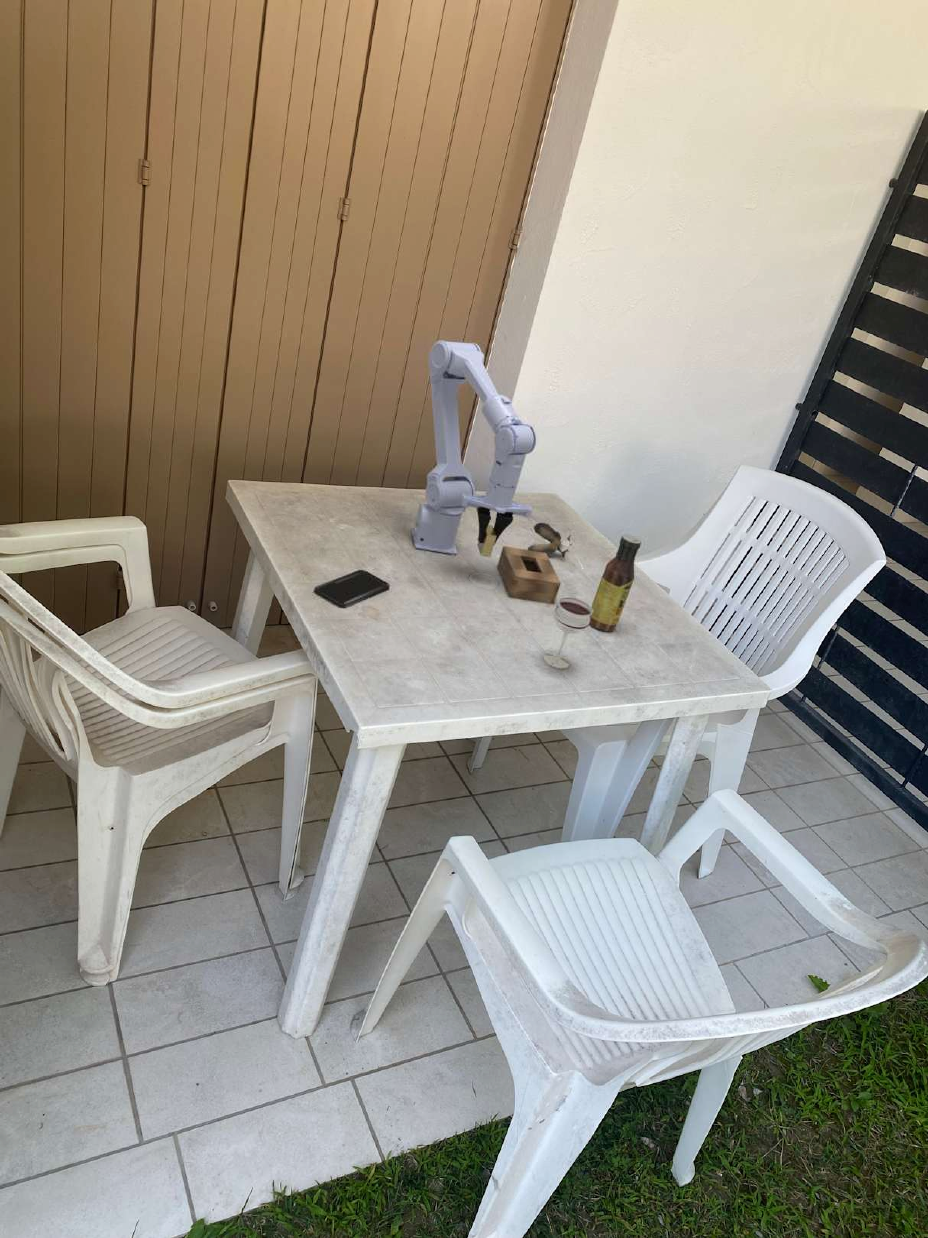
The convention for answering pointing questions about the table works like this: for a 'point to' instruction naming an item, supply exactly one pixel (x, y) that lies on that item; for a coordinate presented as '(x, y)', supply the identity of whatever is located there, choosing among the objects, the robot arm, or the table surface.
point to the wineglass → (568, 624)
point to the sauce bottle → (615, 585)
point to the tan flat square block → (487, 542)
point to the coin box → (528, 575)
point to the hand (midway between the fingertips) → (486, 541)
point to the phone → (351, 588)
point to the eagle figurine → (550, 540)
